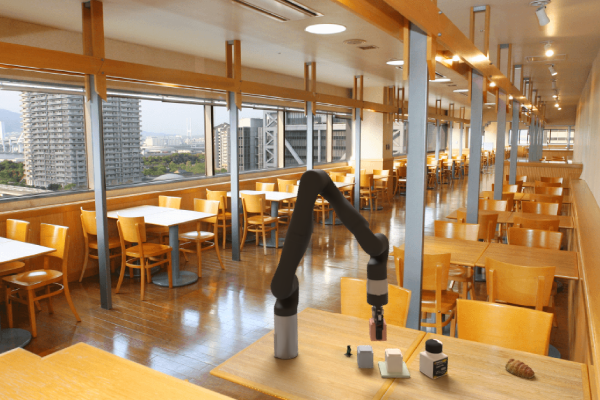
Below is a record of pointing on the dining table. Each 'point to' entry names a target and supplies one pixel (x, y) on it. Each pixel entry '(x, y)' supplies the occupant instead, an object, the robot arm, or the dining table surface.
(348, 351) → the sculpture
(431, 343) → the medicine bottle
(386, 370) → the tower base
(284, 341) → the robot arm
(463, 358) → the dining table surface
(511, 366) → the pastry
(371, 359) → the grey block
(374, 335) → the brick terracotta
